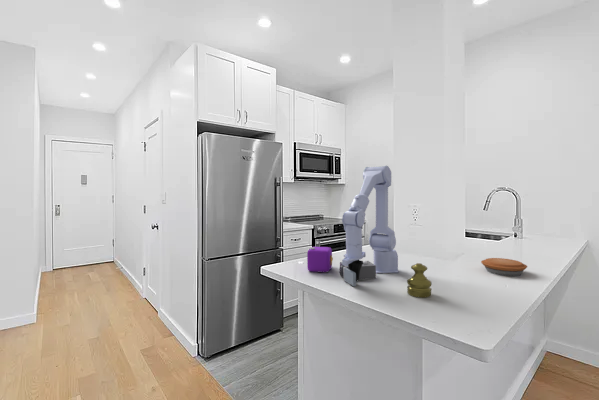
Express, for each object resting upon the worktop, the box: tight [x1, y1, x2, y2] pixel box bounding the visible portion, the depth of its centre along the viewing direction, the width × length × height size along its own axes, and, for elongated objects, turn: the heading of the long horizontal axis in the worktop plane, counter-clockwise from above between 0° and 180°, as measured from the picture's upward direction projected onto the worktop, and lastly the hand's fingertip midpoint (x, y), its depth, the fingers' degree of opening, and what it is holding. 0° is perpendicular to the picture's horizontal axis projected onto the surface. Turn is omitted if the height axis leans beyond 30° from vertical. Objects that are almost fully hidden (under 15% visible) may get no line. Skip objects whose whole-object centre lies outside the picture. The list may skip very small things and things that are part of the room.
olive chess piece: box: [406, 262, 433, 299], centre depth 97 cm, size 7×7×10 cm
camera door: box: [343, 267, 357, 287], centre depth 109 cm, size 9×1×5 cm, turn 16°
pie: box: [480, 257, 528, 277], centre depth 122 cm, size 16×16×5 cm
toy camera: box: [306, 246, 334, 273], centre depth 130 cm, size 11×14×10 cm
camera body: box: [338, 260, 377, 280], centre depth 118 cm, size 13×8×6 cm, turn 98°
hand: (354, 280), depth 109 cm, fingers closed, pressing on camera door
